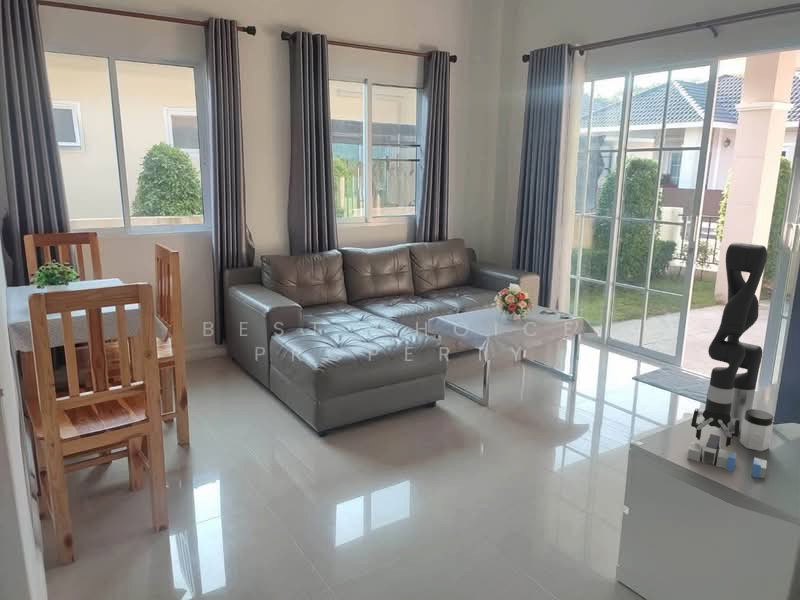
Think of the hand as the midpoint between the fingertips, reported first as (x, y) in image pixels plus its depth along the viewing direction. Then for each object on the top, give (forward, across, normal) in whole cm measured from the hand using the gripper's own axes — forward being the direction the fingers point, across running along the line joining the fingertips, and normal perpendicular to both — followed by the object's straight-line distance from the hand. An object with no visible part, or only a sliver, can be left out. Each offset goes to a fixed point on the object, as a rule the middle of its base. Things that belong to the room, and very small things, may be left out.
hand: (712, 442), depth 196 cm
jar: (+3, -12, -14) cm, 19 cm away
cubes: (+4, -5, +7) cm, 9 cm away
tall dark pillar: (+4, 0, +2) cm, 4 cm away
